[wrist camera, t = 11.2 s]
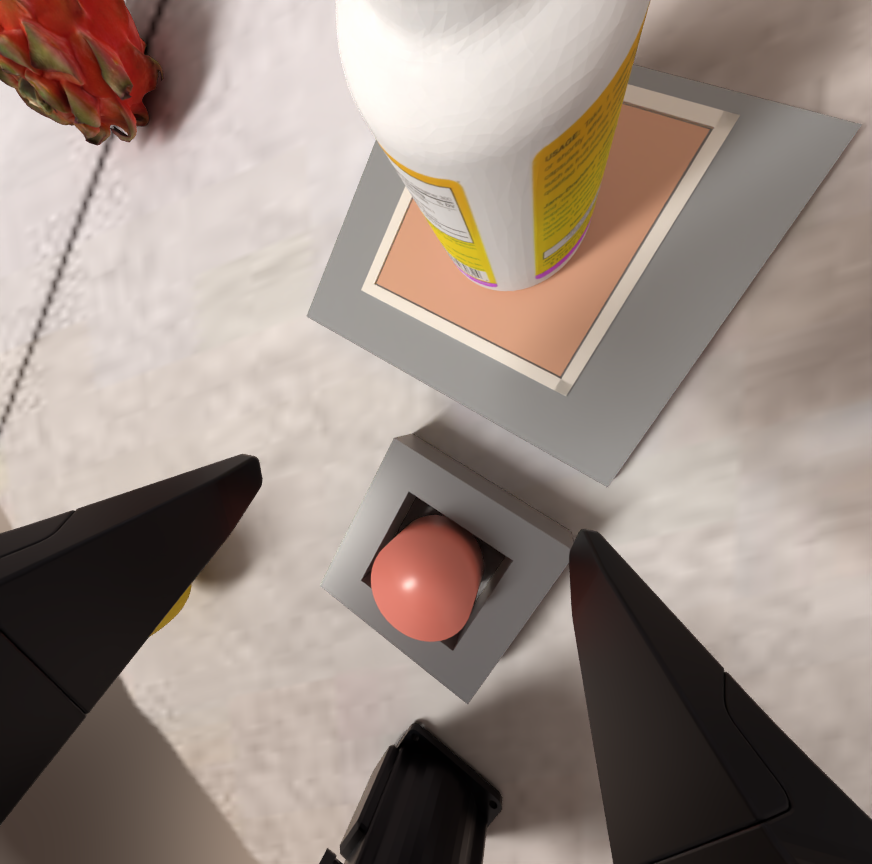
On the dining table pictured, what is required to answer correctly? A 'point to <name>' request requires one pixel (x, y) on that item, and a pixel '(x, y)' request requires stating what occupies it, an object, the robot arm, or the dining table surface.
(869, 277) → the dining table surface
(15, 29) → the dragon fruit
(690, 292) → the picture board
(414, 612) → the button
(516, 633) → the button frame
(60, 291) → the dining table surface
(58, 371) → the dining table surface
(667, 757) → the robot arm
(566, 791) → the dining table surface
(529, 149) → the supplement bottle
